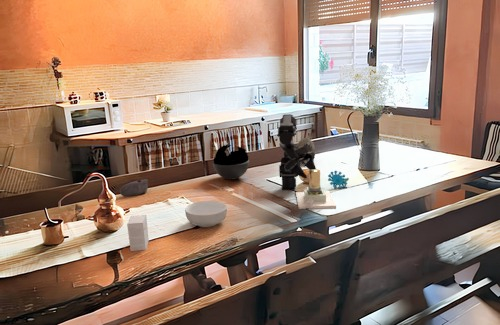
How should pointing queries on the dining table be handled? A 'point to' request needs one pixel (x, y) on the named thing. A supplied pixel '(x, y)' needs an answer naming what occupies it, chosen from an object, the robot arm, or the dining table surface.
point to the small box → (138, 232)
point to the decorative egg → (304, 141)
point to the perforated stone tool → (134, 188)
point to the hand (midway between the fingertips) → (311, 175)
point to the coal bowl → (231, 162)
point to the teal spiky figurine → (337, 179)
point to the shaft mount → (315, 200)
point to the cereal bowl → (206, 213)
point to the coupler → (314, 182)
